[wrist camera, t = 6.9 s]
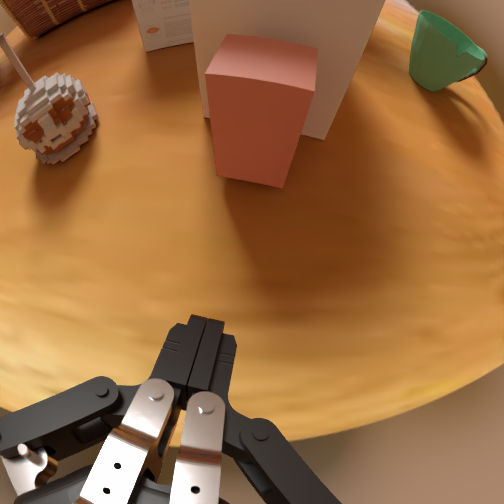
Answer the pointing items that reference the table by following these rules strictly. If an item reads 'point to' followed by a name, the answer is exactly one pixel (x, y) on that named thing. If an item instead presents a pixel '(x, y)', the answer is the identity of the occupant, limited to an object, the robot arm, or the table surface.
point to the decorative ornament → (51, 113)
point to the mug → (442, 53)
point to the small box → (163, 22)
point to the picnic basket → (45, 13)
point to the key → (259, 105)
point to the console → (292, 41)
